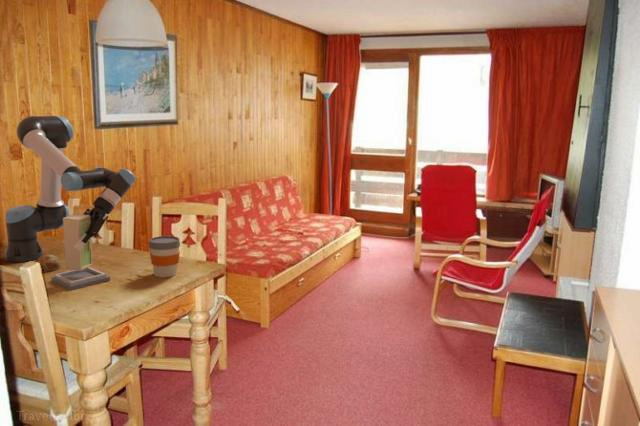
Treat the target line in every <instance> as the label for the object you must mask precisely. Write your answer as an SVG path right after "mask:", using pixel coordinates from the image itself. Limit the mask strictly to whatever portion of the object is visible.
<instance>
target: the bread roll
mask: <svg viewBox="0 0 640 426" xmlns="http://www.w3.org/2000/svg"><path fill="white" fill-rule="evenodd" d="M35 262H39V263H40V265H41V268H42V271H44V272H43V273H48V272H53V271H58V270H60V269H61V268H62V266H61V261H60V259H59V258H58V257H57V256H55V255H53V254H43V256H41V257H40V258H38V259H36V260H35Z"/></svg>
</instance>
